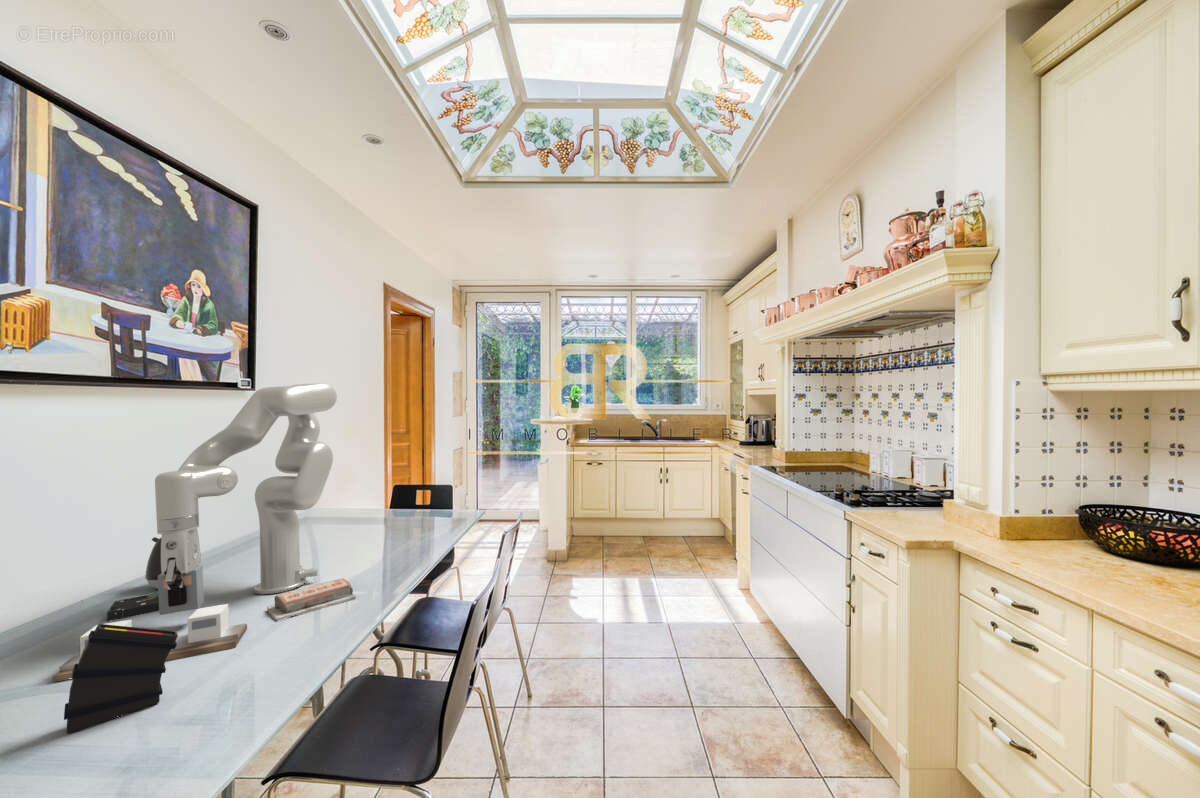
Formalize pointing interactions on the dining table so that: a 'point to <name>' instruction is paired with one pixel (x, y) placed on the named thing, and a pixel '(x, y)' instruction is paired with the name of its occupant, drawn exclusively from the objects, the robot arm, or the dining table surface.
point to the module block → (193, 592)
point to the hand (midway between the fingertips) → (181, 600)
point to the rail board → (176, 649)
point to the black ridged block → (117, 674)
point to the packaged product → (311, 598)
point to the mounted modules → (200, 625)
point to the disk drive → (133, 607)
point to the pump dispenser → (154, 564)
